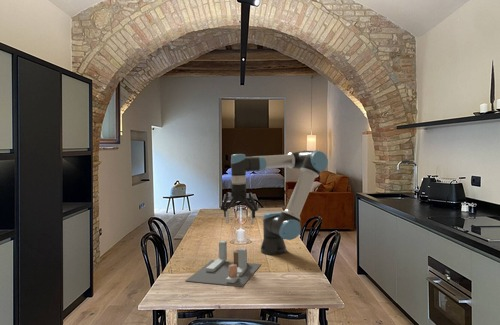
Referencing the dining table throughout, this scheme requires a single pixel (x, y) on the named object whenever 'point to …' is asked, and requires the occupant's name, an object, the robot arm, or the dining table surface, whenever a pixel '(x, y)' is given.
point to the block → (237, 257)
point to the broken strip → (239, 265)
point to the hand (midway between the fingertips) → (239, 223)
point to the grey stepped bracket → (221, 258)
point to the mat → (222, 275)
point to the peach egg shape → (232, 270)
